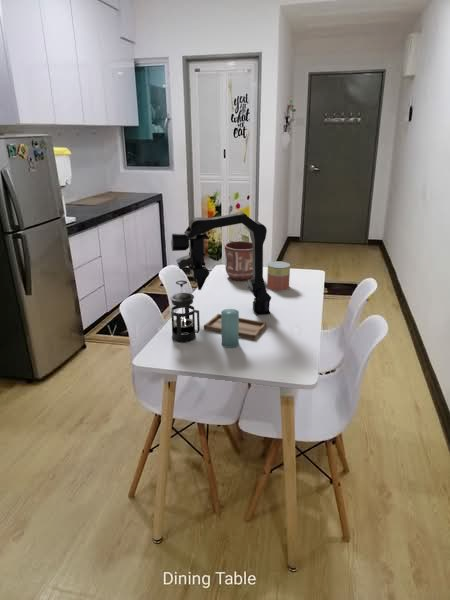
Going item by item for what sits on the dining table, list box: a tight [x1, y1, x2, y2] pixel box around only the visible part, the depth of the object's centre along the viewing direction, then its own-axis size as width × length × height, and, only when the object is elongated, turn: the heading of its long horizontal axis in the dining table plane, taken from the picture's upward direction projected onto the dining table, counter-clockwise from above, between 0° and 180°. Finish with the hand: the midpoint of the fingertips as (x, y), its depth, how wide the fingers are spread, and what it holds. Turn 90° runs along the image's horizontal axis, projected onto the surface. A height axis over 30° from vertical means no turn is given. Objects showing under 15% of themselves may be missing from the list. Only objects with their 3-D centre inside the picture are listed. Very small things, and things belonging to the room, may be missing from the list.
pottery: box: [224, 240, 253, 282], centre depth 233 cm, size 18×18×18 cm
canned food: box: [266, 260, 291, 292], centre depth 219 cm, size 11×11×12 cm
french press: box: [169, 280, 201, 344], centre depth 165 cm, size 12×9×23 cm
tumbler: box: [220, 308, 240, 349], centre depth 162 cm, size 7×7×13 cm
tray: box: [203, 313, 268, 341], centre depth 176 cm, size 13×22×2 cm, turn 64°
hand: (197, 286), depth 181 cm, fingers open, 9 cm apart
